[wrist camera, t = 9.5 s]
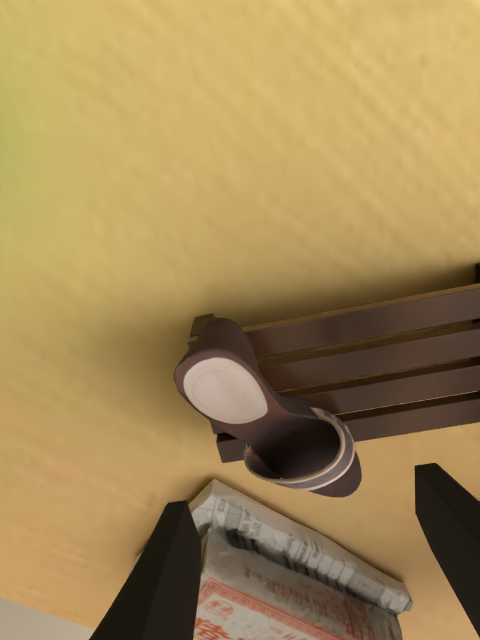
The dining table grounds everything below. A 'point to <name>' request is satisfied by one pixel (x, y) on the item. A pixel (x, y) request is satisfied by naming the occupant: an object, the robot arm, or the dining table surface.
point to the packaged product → (284, 578)
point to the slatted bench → (375, 364)
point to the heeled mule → (266, 416)
